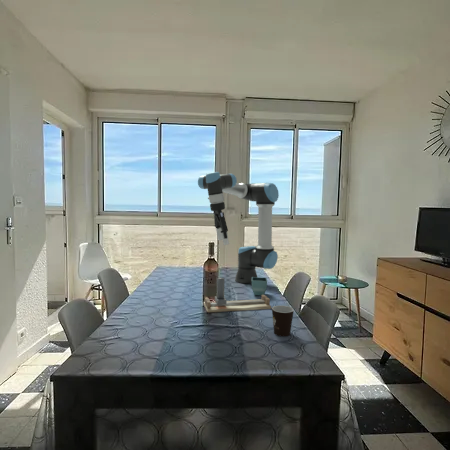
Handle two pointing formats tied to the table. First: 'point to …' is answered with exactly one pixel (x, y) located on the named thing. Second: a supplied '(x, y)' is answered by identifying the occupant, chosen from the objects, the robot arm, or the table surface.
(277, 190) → the robot arm
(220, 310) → the rail
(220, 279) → the carriage
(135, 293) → the table surface
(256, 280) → the flower pot
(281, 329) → the coffee mug
